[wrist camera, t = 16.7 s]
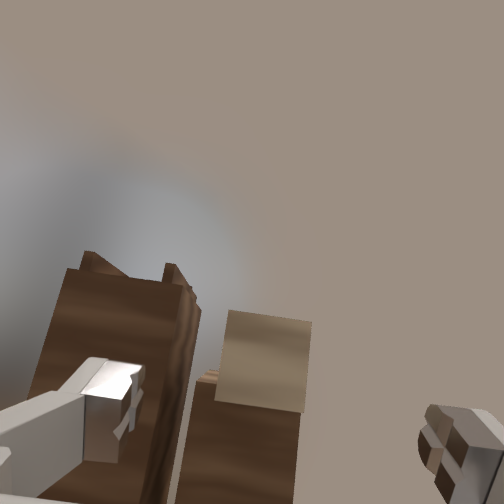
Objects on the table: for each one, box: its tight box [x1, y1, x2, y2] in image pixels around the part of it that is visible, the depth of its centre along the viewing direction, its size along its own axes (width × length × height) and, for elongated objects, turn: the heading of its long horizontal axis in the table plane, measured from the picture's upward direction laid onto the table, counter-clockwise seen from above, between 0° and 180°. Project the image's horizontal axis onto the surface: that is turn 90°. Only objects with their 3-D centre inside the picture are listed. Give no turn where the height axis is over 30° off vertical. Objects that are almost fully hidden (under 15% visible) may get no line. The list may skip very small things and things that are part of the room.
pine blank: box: [214, 310, 312, 413], centre depth 26 cm, size 22×4×4 cm, turn 4°
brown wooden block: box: [26, 251, 201, 504], centre depth 27 cm, size 15×8×28 cm, turn 4°
